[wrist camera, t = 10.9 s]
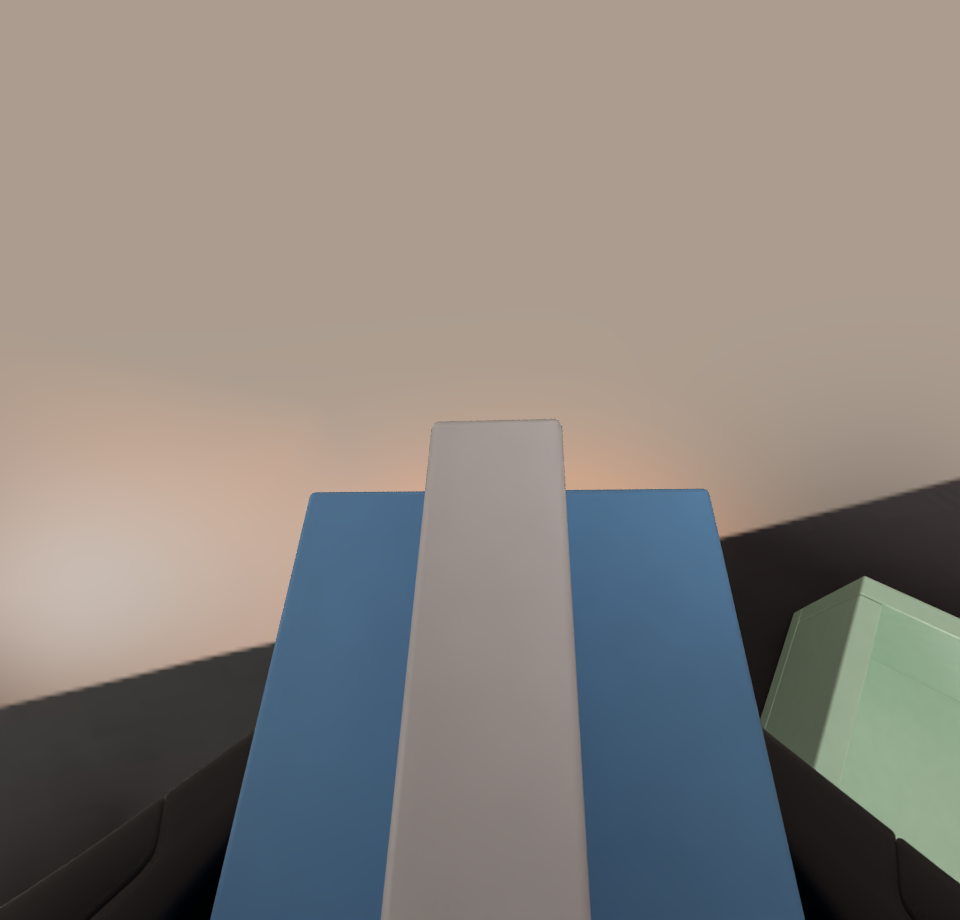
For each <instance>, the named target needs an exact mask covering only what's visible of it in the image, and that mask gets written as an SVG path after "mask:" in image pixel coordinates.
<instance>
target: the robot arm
mask: <svg viewBox="0 0 960 920" xmlns="http://www.w3.org/2000/svg"><path fill="white" fill-rule="evenodd" d="M762 731H763V735H764V740H765V744H766V748H767V753H768V757H769V762H770V766H771V771H772V775H773V780H774V784H775V788H776V793H777V797H778V802H779V806H780V811H781V815H782V820H783V824H784V828H785V833H786V837H787V842H788V846H789V851H790V855H791V860H792V864H793V868H794V873H795V877H796V882H797V886H798V891H799V895H800V900H801V904H802V908H803V913H804V917H805V920H960V883H959V882H957V881H956V880H955V879H954V878H952V877H951V876H950V875H948V874H947V873H946V872H944V871H943V870H942V869H941V868H939V867H938V866H937V865H935V864H934V863H933V862H932V861H930V860H929V859H928V858H927V857H925V856H924V855H923V854H922V853H920V852H919V851H918V850H916V849H915V848H914V847H913V846H911V845H910V844H909V843H908V842H906V841H905V840H904V839H902V838H897V839H896V835H895V833H894V832H893V831H892V830H891V829H890V828H888V827H887V826H886V825H885V824H883V823H882V822H881V821H880V820H878V819H877V818H876V817H874V816H873V815H872V814H871V813H869V812H868V811H867V810H866V809H864V808H863V807H862V806H861V805H859V804H858V803H857V802H856V801H854V800H853V799H852V798H850V797H849V796H848V795H847V794H845V793H844V792H843V791H842V790H840V789H839V788H838V787H837V786H835V785H834V784H833V783H832V782H830V781H829V780H828V779H826V778H825V777H824V776H823V775H821V774H820V773H819V772H818V771H816V770H815V769H814V768H813V767H811V766H810V765H809V764H808V763H806V762H805V761H804V760H803V759H801V758H800V757H799V756H797V755H796V754H795V753H794V752H792V751H791V750H790V749H789V748H787V747H786V746H785V745H784V744H782V743H781V742H780V741H779V740H777V739H776V738H775V737H773V736H772V735H771V734H770V733H768V732H767V731H766V730H765V729H763V728H762ZM254 732H255V729H254V730H253V731H251V732H250V733H249V734H247V735H246V736H244V737H243V738H242V739H240V740H239V741H237V742H236V743H235V744H233V745H232V746H231V747H229V748H228V749H226V750H225V751H224V752H222V753H221V754H220V755H218V756H217V757H215V758H214V759H213V760H211V761H210V762H209V763H207V764H206V765H204V766H203V767H202V768H200V769H199V770H198V771H196V772H195V773H193V774H192V775H191V776H189V777H188V778H187V779H185V780H184V781H182V782H181V783H180V784H178V785H177V786H176V787H174V788H173V789H171V790H170V791H169V792H167V793H166V795H165V799H163V798H159V799H157V800H156V801H155V802H153V803H152V804H150V805H149V806H148V807H146V808H145V809H144V810H142V811H141V812H139V813H138V814H137V815H135V816H134V817H133V818H131V819H130V820H128V821H127V822H126V823H124V824H123V825H121V826H120V827H118V828H117V829H116V830H114V831H113V832H111V833H110V834H109V835H107V836H106V837H104V838H103V839H101V840H100V841H99V842H97V843H96V844H94V845H93V846H91V847H90V848H89V849H87V850H86V851H84V852H83V853H81V854H80V855H79V856H77V857H76V858H74V859H73V860H71V861H70V862H68V863H67V864H65V865H63V866H62V867H60V868H59V869H57V870H56V871H54V872H53V873H51V874H50V875H48V876H47V877H45V878H44V879H42V880H41V881H39V882H38V883H36V884H35V885H33V886H32V887H30V888H29V889H27V890H26V891H24V892H23V893H21V894H20V895H18V896H17V897H15V898H14V899H12V900H10V901H9V902H7V903H6V904H4V905H3V906H1V907H0V920H210V918H211V914H212V910H213V905H214V901H215V897H216V893H217V888H218V884H219V880H220V876H221V871H222V867H223V863H224V859H225V855H226V850H227V846H228V842H229V838H230V833H231V829H232V825H233V821H234V816H235V812H236V808H237V804H238V799H239V795H240V791H241V787H242V782H243V778H244V774H245V770H246V766H247V761H248V757H249V753H250V749H251V744H252V740H253V736H254Z"/></svg>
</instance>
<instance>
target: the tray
mask: <svg viewBox="0 0 960 920" xmlns="http://www.w3.org/2000/svg"><path fill="white" fill-rule="evenodd" d="M760 722H761V726H762V728H763V729H765V730H766V731H767V732H768V733H770V734H771V735H772V736H773V737H775V738H776V739H777V740H779V741H780V742H781V743H782V744H784V745H785V746H786V747H787V748H789V749H790V750H791V751H792V752H794V753H795V754H796V755H797V756H799V757H800V758H801V759H803V760H804V761H805V762H806V763H808V764H809V765H810V766H811V767H813V768H814V769H815V770H816V771H818V772H819V773H820V774H821V775H823V776H824V777H825V778H826V779H828V780H829V781H830V782H832V783H833V784H834V785H835V786H837V787H838V788H839V789H840V790H842V791H843V792H844V793H845V794H847V795H848V796H849V797H850V798H852V799H853V800H854V801H856V802H857V803H858V804H859V805H861V806H862V807H863V808H864V809H866V810H867V811H868V812H869V813H871V814H872V815H873V816H874V817H876V818H877V819H878V820H880V821H881V822H882V823H883V824H885V825H886V826H887V827H888V828H890V829H891V830H892V831H893V832H894V833H895V835H896V839H897V838H902V839H904V840H905V841H906V842H908V843H909V844H910V845H911V846H913V847H914V848H915V849H916V850H918V851H919V852H920V853H922V854H923V855H924V856H925V857H927V858H928V859H929V860H930V861H932V862H933V863H934V864H935V865H937V866H938V867H939V868H941V869H942V870H943V871H944V872H946V873H947V874H948V875H950V876H951V877H952V878H954V879H955V880H956V881H957V882H959V883H960V618H958V617H955V616H953V615H951V614H949V613H947V612H944V611H942V610H940V609H938V608H935V607H933V606H931V605H929V604H926V603H924V602H922V601H920V600H918V599H915V598H913V597H911V596H909V595H906V594H904V593H902V592H900V591H897V590H895V589H893V588H891V587H889V586H886V585H884V584H882V583H880V582H877V581H875V580H873V579H871V578H869V577H866V576H863V577H861V578H859V579H857V580H855V581H853V582H851V583H849V584H848V585H846V586H844V587H842V588H840V589H838V590H836V591H834V592H832V593H830V594H828V595H826V596H825V597H823V598H821V599H819V600H817V601H815V602H813V603H811V604H809V605H807V606H805V607H804V608H802V609H800V610H798V611H796V612H795V613H794V614H793V617H792V621H791V624H790V627H789V630H788V633H787V636H786V640H785V643H784V646H783V649H782V652H781V655H780V658H779V662H778V665H777V668H776V671H775V674H774V677H773V681H772V684H771V687H770V690H769V693H768V696H767V699H766V703H765V706H764V709H763V712H762V715H761V718H760Z"/></svg>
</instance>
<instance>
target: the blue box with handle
mask: <svg viewBox="0 0 960 920" xmlns="http://www.w3.org/2000/svg"><path fill="white" fill-rule="evenodd" d="M565 489H566V488H565V471H564V455H563V439H562V426H561V424H560V422H559V420H555V419H536V420H494V421H451V422H437V423H435V424H434V425H433V427H432V430H431V440H430V449H429V459H428V469H427V478H426V488H425V491H423V492H322V493H320V492H318V493H312V494H311V496H310V499H309V503H308V507H307V511H306V515H305V520H304V524H303V528H302V532H301V537H300V541H299V545H298V549H297V554H296V558H295V562H294V566H293V571H292V575H291V579H290V583H289V587H288V592H287V596H286V600H285V604H284V609H283V613H282V617H281V621H280V626H279V630H278V634H277V638H276V643H275V647H274V651H273V655H272V660H271V664H270V668H269V672H268V677H267V681H266V685H265V689H264V693H263V698H262V702H261V706H260V710H259V715H258V719H257V723H256V727H255V732H254V736H253V740H252V744H251V749H250V753H249V757H248V761H247V766H246V770H245V774H244V778H243V782H242V787H241V791H240V795H239V799H238V804H237V808H236V812H235V816H234V821H233V825H232V829H231V833H230V838H229V842H228V846H227V850H226V855H225V859H224V863H223V867H222V871H221V876H220V880H219V884H218V888H217V893H216V897H215V901H214V905H213V910H212V914H211V918H210V920H805V917H804V913H803V908H802V904H801V900H800V895H799V891H798V886H797V882H796V877H795V873H794V868H793V864H792V860H791V855H790V851H789V846H788V842H787V837H786V833H785V828H784V824H783V820H782V815H781V811H780V806H779V802H778V797H777V793H776V788H775V784H774V780H773V775H772V771H771V766H770V762H769V757H768V753H767V748H766V744H765V740H764V735H763V731H762V726H761V722H760V717H759V713H758V708H757V704H756V700H755V695H754V691H753V686H752V682H751V677H750V673H749V668H748V664H747V660H746V655H745V651H744V646H743V642H742V637H741V633H740V628H739V624H738V620H737V615H736V611H735V606H734V602H733V597H732V593H731V588H730V584H729V580H728V575H727V571H726V566H725V562H724V557H723V553H722V548H721V544H720V540H719V535H718V531H717V526H716V522H715V517H714V513H713V508H712V504H711V500H710V495H709V493H708V491H707V490H705V489H640V490H637V489H635V490H565Z"/></svg>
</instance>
